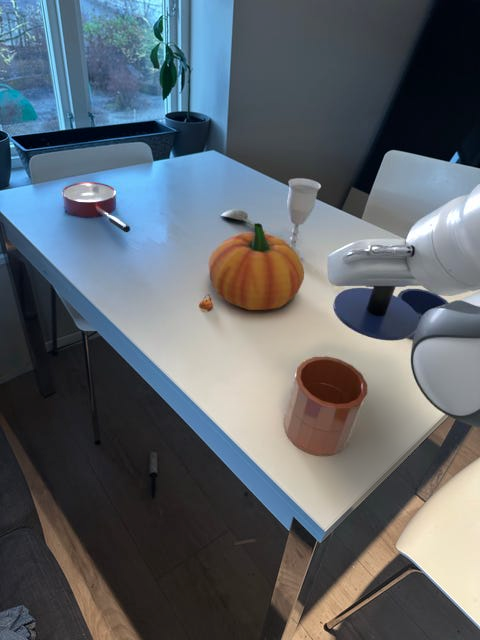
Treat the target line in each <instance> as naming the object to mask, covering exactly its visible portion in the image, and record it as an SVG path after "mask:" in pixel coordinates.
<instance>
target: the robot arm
mask: <svg viewBox="0 0 480 640" xmlns="http://www.w3.org/2000/svg"><path fill="white" fill-rule="evenodd" d="M326 271H327V278H328V282H329V284H331V285H332V286H334V287H365V288H373V287H377V286H396V287H395V288H405V287H413V286H414V287H422V288H424V290H427V291H430V292H432V293H435V294H437V295H439V296H441V297H442V296H443V297H455V296H458V295H462V294H465V293H469V292H475V291H477V292H475V293H472V294H470V295H468V296H466V297H463V298H461V299H457V300H453V301H450V302H448V303H447V304H444V305H441V306H439V307H436V308H433V309H430V310H428V311H427V312H425V313H424V314H423V316H422V317H421V319H420V322H419V324H418V326H417V329H416V332H415V335H414V339H413V340H412V344H411V348H410V349H411V350H410V367H411V372H412V375H413V379H414V380H415V384H416V385H417V387H418V389H419V390H420V392H421V393H422V395H423V396H424V397H425V399H426V400H427V401H428V402H429V403H430V404H431V405H432V406H433V408H436V409H437V410H438V411H440V412H441V413H442V414H444V415H446V416H448V417H450V418H452V419H454V420H456V421H458V422H461V423H463V424H465V425H469V426H471V427H472V426H473V427H475V428H478V429H480V183H478V184H477V185H476V186H475V187H474V188H473V189H472V190H471V191H470V193H469V194H464V195H460V196H458V197H455V198H453V199H451V200H449V201H447V202H446V203H445V204H443V205H441V206H440V207H438V208H436V209H434V210H432V211H431V212H429V213H427V214H426V215H424V216H423V217H422V218H420V219H418V220H417V221H416V222H415V223H414V224H413V226H412V227H411V228H410V230H409V231H408V233H407V236H406V238H405V239H403V238H365V239H359V240H356V241H353V242H351V243H348V244H346V245H343V246H342V247H340V248H338V249H336V250H334V251H333V252H331V253H330V254H329V255H328V256H327V260H326ZM478 290H479V291H478Z"/></svg>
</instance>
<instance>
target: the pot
mask: <svg viewBox="0 0 480 640" xmlns="http://www.w3.org/2000/svg"><path fill="white" fill-rule="evenodd" d="M367 396H368V383H367V381H366V380H365V377H364V376H363V374H362V373H361V372H360V371H359V370H358V369H357V368H356V367H355V366H353V365H352V364H350V363H348V362H346V361H344V360H342V359H340V358H336V357H331V356H327V355H325V356H313V357H311V358H310V357H309V358H308V359H305V360H303V361H302V363H300V364H299V365H298V367H297V368H296V371H295V374H294V378H293V383H292V386H291V391H290V394H289V400H288V403H287V407H286V412H285V416H284V422H283V426H284V431H285V434H286V436H287V438H288V439H289V441H290V442H291V443H292V444H293V445H294V446H295V447H296V448H297V449H299V450H301V451H303V452H304V453H307V454H309V455H313V456H316V457H317V456H318V457H329V456H333V455H337V454H338V453H340V452H341V451H343V450H344V449H345V448H346V447H347V444H348V442H349V441H350V439H351V436H352V434H353V431H354V428H355V426H356V424H357V421H358V418H359V416H360V414H361V411H362V408H363V406H364V403H365V401H366V398H367Z"/></svg>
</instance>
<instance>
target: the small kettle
mask: <svg viewBox="0 0 480 640" xmlns="http://www.w3.org/2000/svg"><path fill="white" fill-rule="evenodd" d="M207 297H208V299H206V298H207ZM202 299H203V300H201V301H200V302H199V304H198V308H199V310H200V311H201V312H210V311H211V310H212V309H213V308H214V304H213V302H212V297H211V296H210V294H209V293H208V294H206V295H205V296H204V298H202Z"/></svg>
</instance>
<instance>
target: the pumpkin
mask: <svg viewBox="0 0 480 640" xmlns="http://www.w3.org/2000/svg"><path fill="white" fill-rule="evenodd" d="M253 224H254V226H253V231H254V232H239V233H236V234H235V235H233V236H231V237H229V238H228V239H226V240H223V242H221V244H220V245H219V246H218V247H216V248H215V250H214V251H212V252H211V255H210V257H209V260H208V272H209V279H210V283H211V285H212V286H213V288H214V290H215V291H216V293H217V294H218V295H219V296H220V298H221V299H223V300H225V301H226V302H228V303H230V304H232V305H234V306H237V307H239V308H242V309H246V310H248V311H261V310H262V311H263V310H272V309H279V308H282V307H283V306H284V305H285V304H287V303H288V302H290V301H291V300H292V299H293V298H294V297H295V296H296V295H297V294H298V292H299V290H300V288H301V286H302V284H303V282H304V280H305V270H304V269H305V268H304V267H303V264H302V260H300V259H299V257H298V255H297V254H296V252H295V251H294V250H293V249H292V248H291V247H290V245H289V244H288V242H286V240H283V239H282V238H280V237H277V236H273V235H271V234H269V233H268V234H269V235H268V234H265V233H264V231H265V230H264V228H263V225H262V224H261V223H259V222H256V223H253ZM263 230H264V231H263Z"/></svg>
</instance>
